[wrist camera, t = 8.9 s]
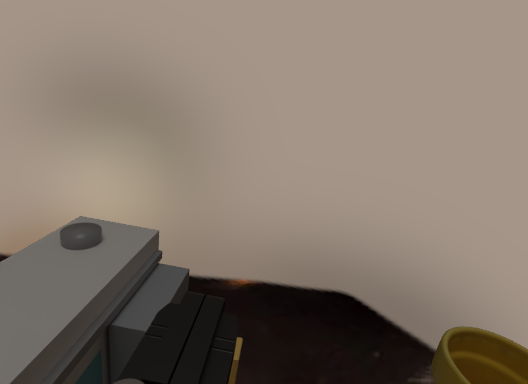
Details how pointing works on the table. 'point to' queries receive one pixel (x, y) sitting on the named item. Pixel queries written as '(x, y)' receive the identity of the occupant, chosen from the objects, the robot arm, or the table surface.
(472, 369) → the plant pot
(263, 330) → the table surface
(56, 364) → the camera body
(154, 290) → the door
